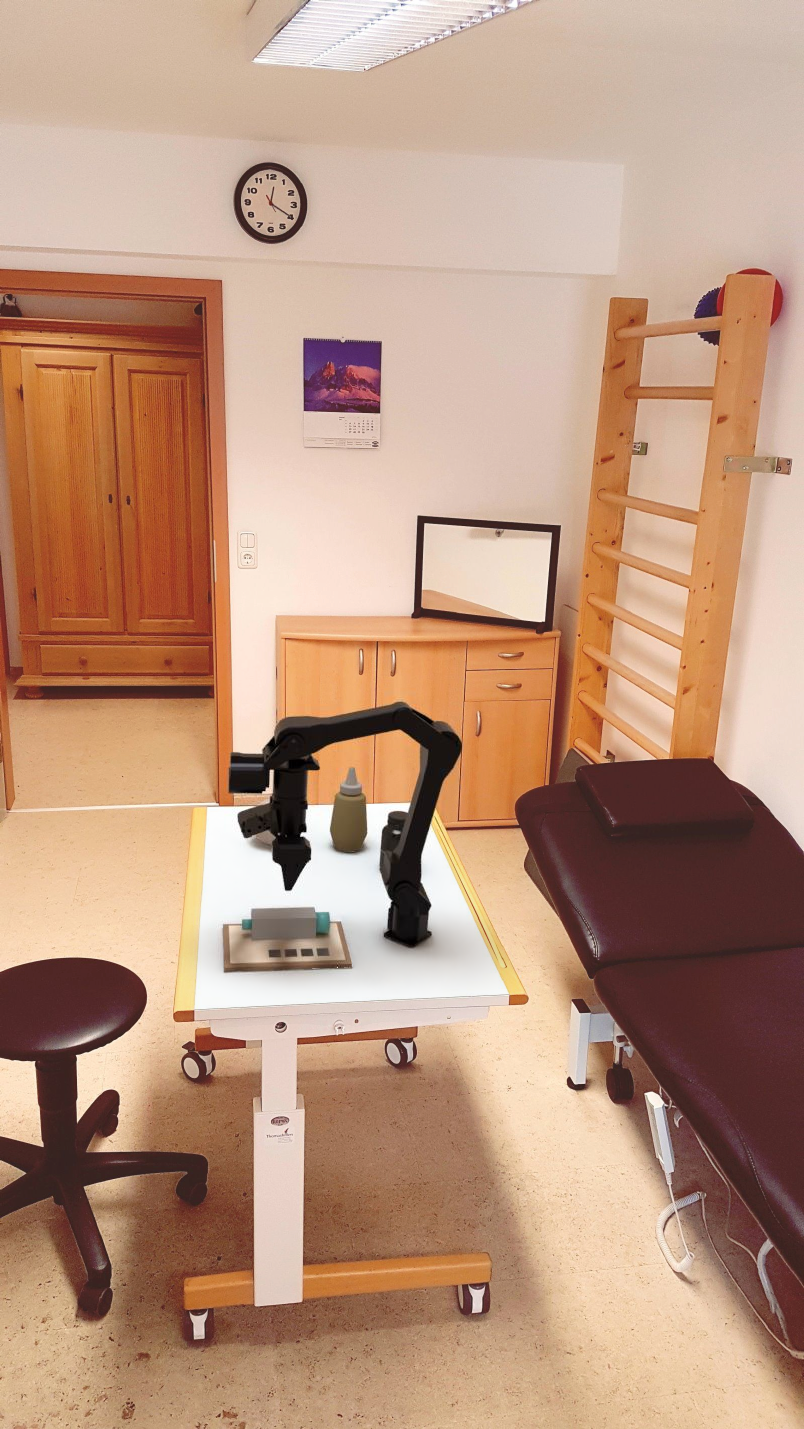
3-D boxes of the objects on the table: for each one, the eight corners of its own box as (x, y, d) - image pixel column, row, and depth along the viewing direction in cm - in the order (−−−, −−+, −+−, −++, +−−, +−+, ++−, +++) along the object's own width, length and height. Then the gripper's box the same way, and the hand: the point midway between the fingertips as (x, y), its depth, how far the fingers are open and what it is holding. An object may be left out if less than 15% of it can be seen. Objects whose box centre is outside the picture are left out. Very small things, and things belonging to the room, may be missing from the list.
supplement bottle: (373, 870, 207) (376, 815, 204) (388, 859, 213) (392, 806, 210) (402, 879, 204) (406, 823, 201) (418, 867, 210) (422, 813, 207)
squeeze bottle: (324, 841, 220) (328, 762, 215) (359, 838, 223) (364, 760, 218) (335, 856, 213) (339, 775, 208) (371, 853, 215) (376, 773, 211)
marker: (326, 927, 180) (327, 906, 179) (329, 938, 177) (330, 917, 176) (241, 929, 177) (242, 908, 176) (242, 940, 174) (242, 919, 173)
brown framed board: (340, 925, 184) (341, 919, 183) (351, 967, 169) (352, 962, 169) (222, 928, 180) (223, 922, 179) (224, 972, 165) (224, 966, 165)
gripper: (239, 774, 177) (237, 856, 181) (242, 813, 160) (240, 904, 164) (303, 774, 179) (299, 856, 184) (313, 813, 162) (309, 903, 166)
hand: (286, 878), depth 174 cm, fingers open, 9 cm apart
